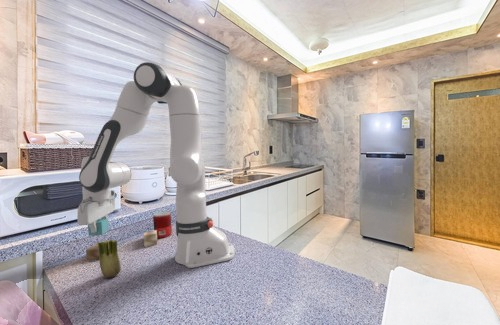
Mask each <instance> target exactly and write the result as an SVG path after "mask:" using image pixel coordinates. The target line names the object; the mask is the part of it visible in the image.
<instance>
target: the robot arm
mask: <svg viewBox="0 0 500 325" xmlns="http://www.w3.org/2000/svg"><path fill="white" fill-rule="evenodd" d="M154 103H158V104H162V105H163V104H166V105H167V107H168V108H167V109H168V117H169V132H170V148H169V149H170V151H169V160H170V161H169V175H170V177H171V179H172V181H174V182H175V183H176V193H175V214H176V221H175V234H176V237H177V238H176V250H175V256H174V261H175V262H176V263H177V264H180V265H183V266H185V267H186V268H188V269H192V268H197V267H203V266H208V265H212V264H218V263H221V262H228V261H230V260H232V259H233V258H234V256H235V252H236V250H235V247H234V245H233V244H232V243H231V242H229V239H228V236H227V235H226V234H225V233H224V232H223V231H222V230H220V229H218V228H216V227H215V226H214V222H213V217H209V216H207V215H208V214H207V199H206V198H207V196H206V191H207V190H206V167H205V161H204V160H203V147H202V146H203V143H202V125H201V113H200V105H199V101H198V96H197V94H196V91H195V89H194V88H192V87H190V86H188V85H183V84H182V83H181V81H180V80H179V79H178V78H176V77H175V76H174V75H172V73H171V72H170V71H168V70H167V69H165V68H163V67H161V66H160V65H158V64H157V63H153V62H149V61H147V62H142V63H140V64H139V65H137V66H136V68H135V70H134V71H133V80H131V81H127V82H126V83H125V85H124V86H123V88H122V89H121V92H120V94H119V97H118V100H117V102H116V106H115V109H114V112H113V114H112V115H111V117H110V118H109V119H108V121H107V122H105V123H104V125H103V126H102V128H101V129H100V132H99V134H98V136H97V139H96V140H95V143H94V146H93V148H92V151H91V153H90V154H89V155H86V156H85V157H83V158H82V160H81V166H80V172H79V176H78V180H79V183H80V185H81V188H82V190H81V192H82V200H81V202H80V203H79V205H78V208H77V217H76V218H77V224H78V225H79V226H88V225H89V227H90V228H91V232H92V233H95V232H97V231H98V227H96V221H97V220H98V219H109V218H108V216H109V215H110V214H112V213H113V212H114V211H115V209H116V207H115V205H116V200H115V196H116V190H113V189H112V188H117V187H121V186H125V185H126V184H128V183H129V182H130V181H131V178H132V170H131V168H130V167H129V165H128V164H126V163H125V162H120V161H116V160H113V159H112V156H113V155H114V153H115V150H116V149H117V148H116V147H117V146H118V144H119V143H120V142H121V141H122V140H124V139H126V138H128V137H131V136H134V135H137V134H138V133H140V132H141V131H143V130H144V128H145V126H146V124H147V121H148V118H149V114H150V110H151V108H152V105H153V104H154Z"/></svg>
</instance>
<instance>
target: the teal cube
mask: <svg viewBox="0 0 500 325" xmlns="http://www.w3.org/2000/svg"><path fill="white" fill-rule="evenodd" d="M96 227H98V231H97V232H95V233H92V232H91V228H90V227H89V225H87V232H88V233H87V234H88V237H92V236H94V237H95V236H103V235H104V234H106V233H107V232H109V231H110V229H109V228H110V227H109V218H107V219H101V218H100V219H98V220H97V221H96Z"/></svg>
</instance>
